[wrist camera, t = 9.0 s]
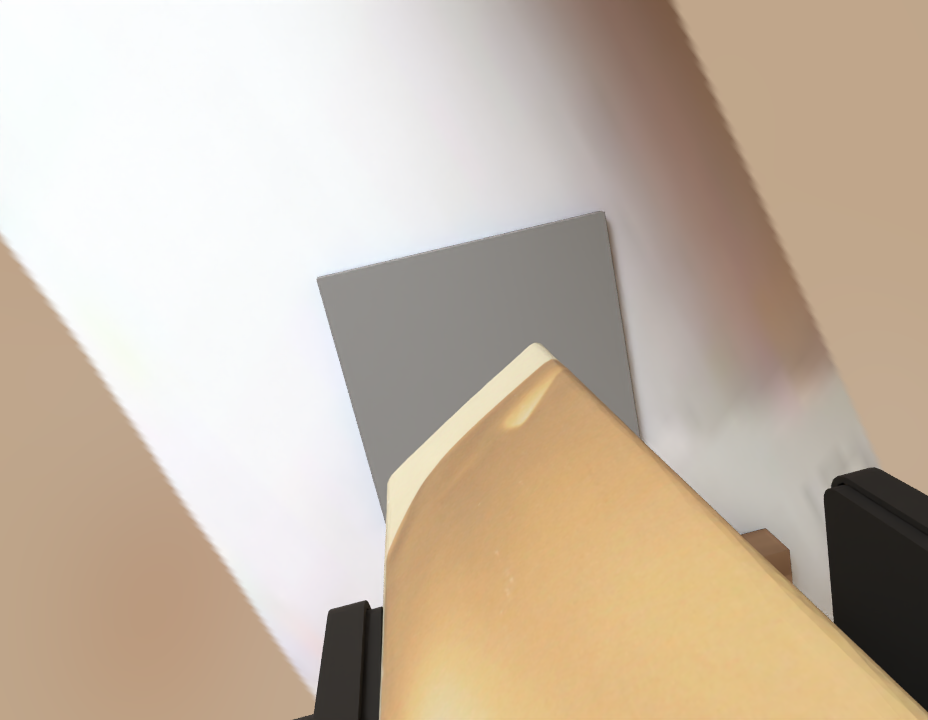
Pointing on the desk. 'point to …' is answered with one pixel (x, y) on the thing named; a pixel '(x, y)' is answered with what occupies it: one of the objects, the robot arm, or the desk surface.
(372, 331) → the rubber mat
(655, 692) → the skincare box
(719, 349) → the desk surface
